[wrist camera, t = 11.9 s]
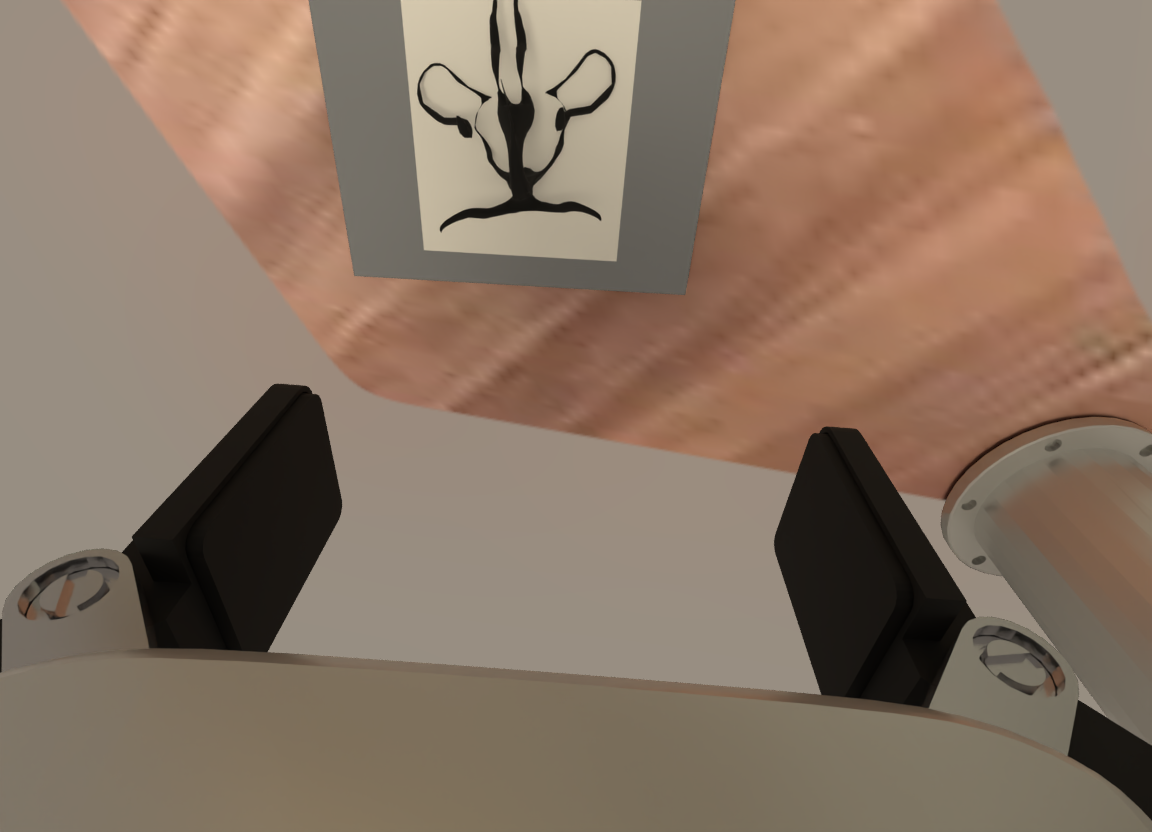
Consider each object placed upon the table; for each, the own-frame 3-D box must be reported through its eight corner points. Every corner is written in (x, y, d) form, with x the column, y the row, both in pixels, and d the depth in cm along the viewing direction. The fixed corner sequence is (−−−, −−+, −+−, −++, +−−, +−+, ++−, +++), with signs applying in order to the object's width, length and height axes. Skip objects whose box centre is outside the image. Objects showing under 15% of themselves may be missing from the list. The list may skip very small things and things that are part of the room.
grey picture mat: (735, -41, 22) (743, -45, 21) (681, 285, 29) (685, 295, 28) (309, -71, 22) (295, -75, 21) (362, 267, 29) (353, 276, 28)
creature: (412, 16, 23) (443, 227, 26) (362, -30, 18) (407, 237, 21) (611, -2, 23) (620, 214, 26) (616, -54, 18) (625, 222, 21)
